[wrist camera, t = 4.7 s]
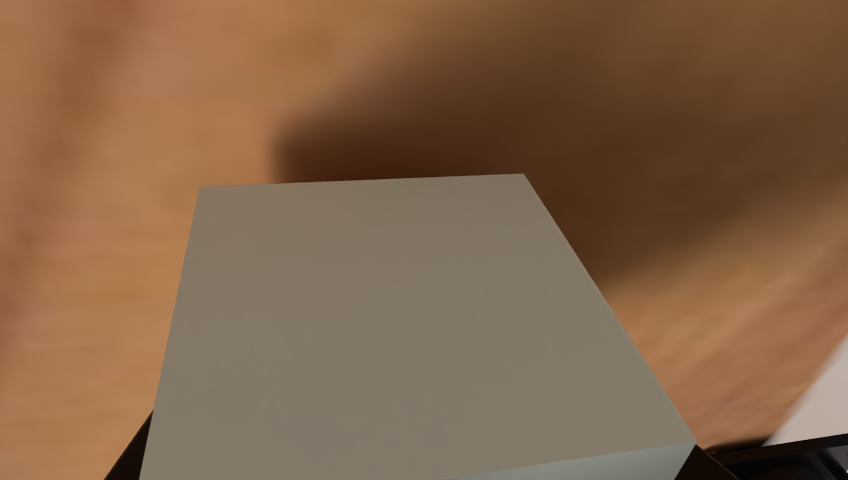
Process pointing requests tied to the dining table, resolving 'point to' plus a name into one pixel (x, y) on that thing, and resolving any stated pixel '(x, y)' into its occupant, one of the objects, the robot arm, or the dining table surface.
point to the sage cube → (399, 343)
